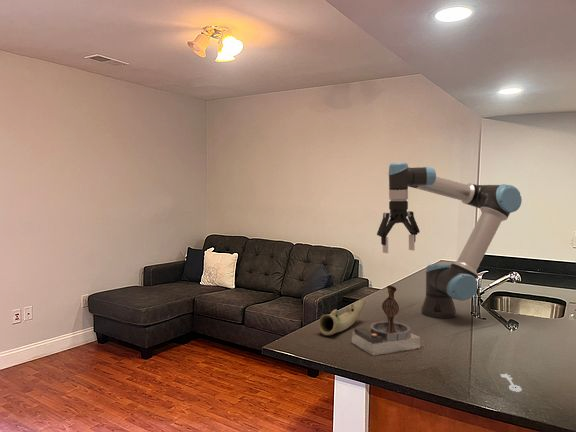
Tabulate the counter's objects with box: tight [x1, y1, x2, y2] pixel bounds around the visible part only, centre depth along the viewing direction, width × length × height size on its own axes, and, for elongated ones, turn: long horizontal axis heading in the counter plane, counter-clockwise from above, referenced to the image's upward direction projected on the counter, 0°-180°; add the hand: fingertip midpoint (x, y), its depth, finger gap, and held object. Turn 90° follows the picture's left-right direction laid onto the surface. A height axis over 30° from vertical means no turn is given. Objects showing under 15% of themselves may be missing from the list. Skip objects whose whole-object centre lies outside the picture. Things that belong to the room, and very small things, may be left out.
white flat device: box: [351, 320, 421, 357], centre depth 161 cm, size 20×14×6 cm
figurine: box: [381, 285, 400, 333], centre depth 162 cm, size 7×5×18 cm
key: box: [500, 373, 523, 393], centre depth 130 cm, size 12×1×3 cm
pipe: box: [317, 299, 367, 336], centre depth 181 cm, size 28×8×10 cm, turn 145°
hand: (398, 251), depth 183 cm, fingers open, 13 cm apart
